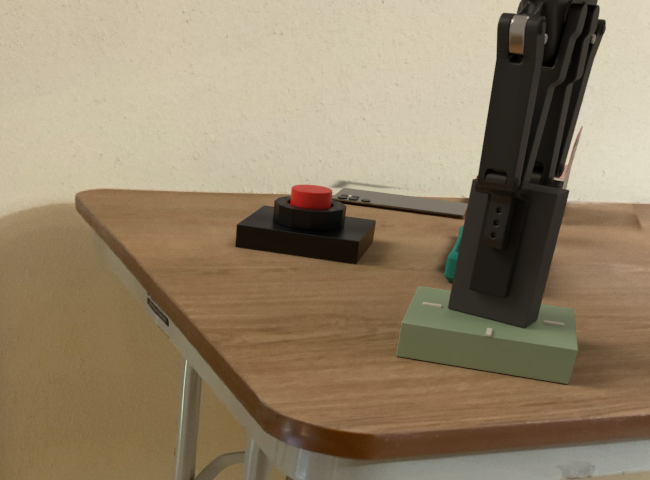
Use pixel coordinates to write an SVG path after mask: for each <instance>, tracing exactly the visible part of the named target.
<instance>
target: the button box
mask: <svg viewBox="0 0 650 480" xmlns="http://www.w3.org/2000/svg"><path fill="white" fill-rule="evenodd" d="M290 200H291V195H287V196H280V197H279V196H278V197H277V198H276V199H274V203H273V206H272V205H262V206H261V207H260V208H258V209H257V210H255V211H254V212H253V213H251V214H250V215H248V216H246V217H245V218H244V219H242V220H241V221H239V222H238V223H237V224H236V231H235V246H234V247H235V248H239V249H246V250H252V251H260V252H266V253H272V254H281V255H287V256H293V257H301V258H308V259H314V260H323V261H327V262H337V263H343V264H349V265H358V263H359V262H360V260H361V259H362V257H363V256H364V255H365V253H366V252H367V251H368V249H369V248H370V246H371V245H372V244H373V242H374V238H375V237H374V236H375V231H376V225H377V224H376V223H377V220H376V219H370V218H362V217H354V216H347V205H345V204H344V202H339V201H335V200H331V208H325V209H312V208H304V207H298V206H294V205H291V204H290Z"/></svg>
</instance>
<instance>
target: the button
mask: <svg viewBox="0 0 650 480" xmlns="http://www.w3.org/2000/svg"><path fill="white" fill-rule="evenodd" d="M290 196H291V200H290V204H291V205H294V206H298V207H304V208H312V209H325V208H331V200H332V197H333V189H332V188H329V187H326V186H323V185H318V184H317V185H316V184H295V185H293V186H291V189H290Z"/></svg>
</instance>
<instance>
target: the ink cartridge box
mask: <svg viewBox="0 0 650 480" xmlns="http://www.w3.org/2000/svg"><path fill="white" fill-rule="evenodd" d="M583 128H584V125H581V126H580V128H579V131H578V133H577V135H576V138H575V140H574V143H573V146H572V149H571V153H570V156H569V160H568V163H567V164H565V169H564V172H563V174H562V176H561V177H560V178H555V177H554V180H558V181H564V184H563V187H562V189H566V190H568V183H569V178H570V175H571V170H572V166H573V162H574V159H575V156H576V152H577V149H578V145H579V143H580V139H581V135H582V132H583Z"/></svg>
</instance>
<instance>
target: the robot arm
mask: <svg viewBox="0 0 650 480" xmlns="http://www.w3.org/2000/svg"><path fill="white" fill-rule="evenodd" d="M598 2H599V0H520V1H519V3H518V6H517V9H516V13H513V12H502V13H501V15H500V16H499V18H498V21H497V28H496V53H495V54H496V59H495V64H494V71H493V76H492V77H493V78H492V82H491V83H492V85H491V91H490V97H489V103H488V109H487V116H486V121H485V129H484V134H483V140H482V148H481V154H480V160H479V166H478V174H477V176H478V178H477V182H476V184H475V190H476V192H480V193H485V194H488V198H487V203H486V208H485V213H484V218H483V223H482V228H481V232H480V237H479V242H478V247H477V252H476V257H475V262H474V267H473V271H472V276H471V281H470V286H469V290H473V291H477V292H481V293H485V294H489V295H493V296H497V297H501V298H506V297H508V296H509V292H510V288H511V284H512V279H513V275H514V271H515V266H516V262H517V257H518V253H519V249H520V244H521V240H522V236H523V231H524V227H525V223H526V218H527V214H528V210H529V205H530V201H531V199H526V198H525V195H526V194H527V192H528V186H529V183H532V184H538V185H544V186H549V187H555V188H560V189H562V187H563V184H564V181H558V180H554V177H555V178H560V177H561V176H562V174H563V172H564V169H565V165H566V163H567V159H568V155H569V151H570V148H571V144H572V140H573V137H574V134H575V130H576V126H577V123H578V119H579V115H580V112H581V108H582V104H583V101H584V97H585V94H586V90H587V86H588V83H589V80H590V76H591V72H592V69H593V65H594V61H595V58H596V56H597V53H598V50H599V48H600V46H601V43H602V40H603V37H604V34H605V33H606V29H607V26H606V24H607V20H606V19H604V18H603V19H602V18H599V17H600V12H601V11H600V10H601V7H600V5H599V4H598Z"/></svg>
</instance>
